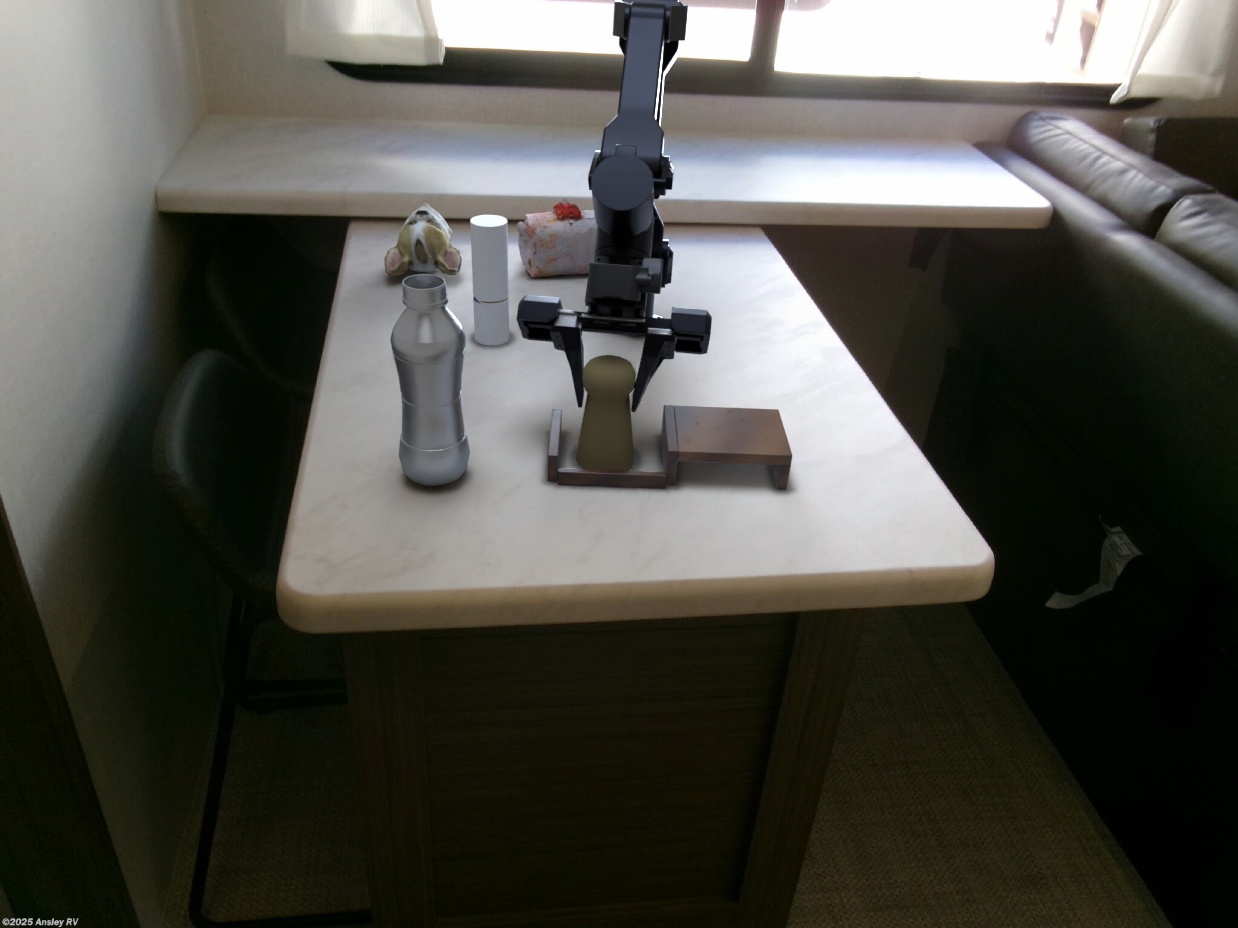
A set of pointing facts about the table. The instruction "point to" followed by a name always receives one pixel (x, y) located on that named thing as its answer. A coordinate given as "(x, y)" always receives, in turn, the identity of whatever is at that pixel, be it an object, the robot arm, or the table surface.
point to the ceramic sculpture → (424, 245)
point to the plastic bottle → (430, 383)
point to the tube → (490, 279)
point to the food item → (558, 241)
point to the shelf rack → (692, 446)
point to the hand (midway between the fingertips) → (606, 408)
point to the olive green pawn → (607, 415)
